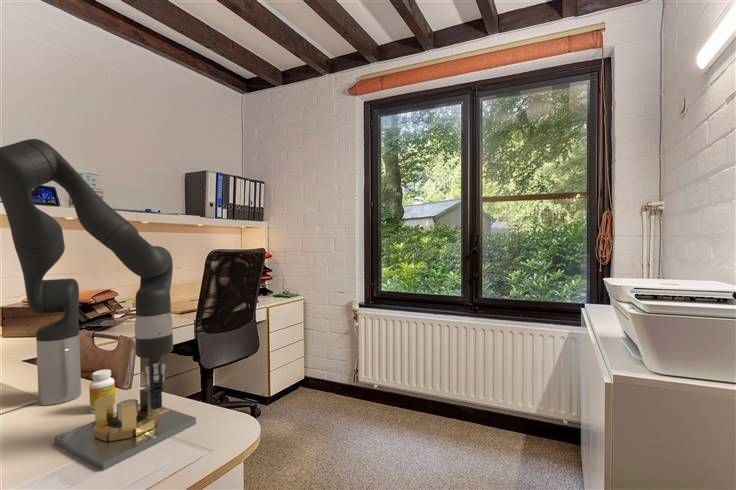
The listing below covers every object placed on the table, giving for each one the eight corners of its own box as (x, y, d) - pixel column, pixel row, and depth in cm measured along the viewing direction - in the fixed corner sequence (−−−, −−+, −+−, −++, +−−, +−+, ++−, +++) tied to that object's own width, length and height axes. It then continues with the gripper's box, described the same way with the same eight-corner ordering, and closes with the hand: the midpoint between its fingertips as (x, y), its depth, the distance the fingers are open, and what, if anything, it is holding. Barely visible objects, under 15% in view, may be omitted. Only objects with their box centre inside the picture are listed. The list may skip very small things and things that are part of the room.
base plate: (54, 443, 82) (52, 411, 81) (146, 406, 99) (145, 380, 99) (103, 470, 72) (102, 434, 72) (196, 423, 89) (195, 394, 89)
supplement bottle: (102, 414, 95) (101, 376, 95) (84, 412, 96) (83, 375, 96) (120, 405, 100) (119, 368, 100) (103, 403, 101) (102, 367, 101)
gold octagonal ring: (117, 445, 78) (116, 413, 77) (83, 433, 83) (82, 403, 82) (170, 418, 89) (170, 391, 88) (137, 409, 94) (136, 383, 94)
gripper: (174, 336, 83) (177, 414, 83) (170, 325, 94) (172, 393, 95) (134, 342, 79) (137, 424, 80) (135, 329, 90) (137, 400, 91)
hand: (156, 407), depth 87 cm, fingers closed
